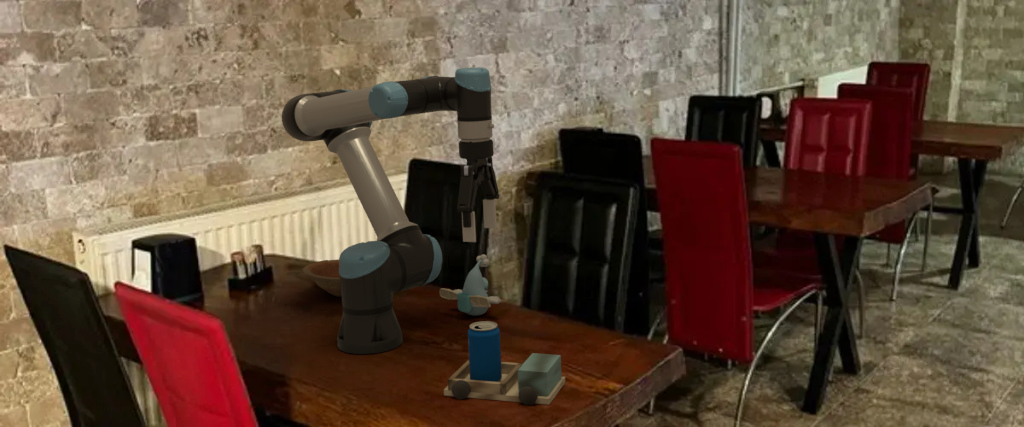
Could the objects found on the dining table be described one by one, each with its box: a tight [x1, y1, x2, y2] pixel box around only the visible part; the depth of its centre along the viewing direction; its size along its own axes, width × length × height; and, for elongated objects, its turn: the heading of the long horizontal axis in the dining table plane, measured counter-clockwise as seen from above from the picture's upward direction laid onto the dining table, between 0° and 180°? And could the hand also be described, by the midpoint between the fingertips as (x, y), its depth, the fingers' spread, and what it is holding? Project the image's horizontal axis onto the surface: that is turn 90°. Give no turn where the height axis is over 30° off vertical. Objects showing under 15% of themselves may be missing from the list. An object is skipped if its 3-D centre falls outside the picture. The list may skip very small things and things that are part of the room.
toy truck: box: [443, 352, 566, 406], centre depth 202 cm, size 22×14×6 cm, turn 72°
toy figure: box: [439, 254, 502, 317], centre depth 251 cm, size 17×10×15 cm, turn 50°
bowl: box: [302, 259, 342, 298], centre depth 276 cm, size 24×24×8 cm
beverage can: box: [467, 320, 502, 382], centre depth 202 cm, size 6×6×12 cm
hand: (480, 234), depth 221 cm, fingers open, 13 cm apart
